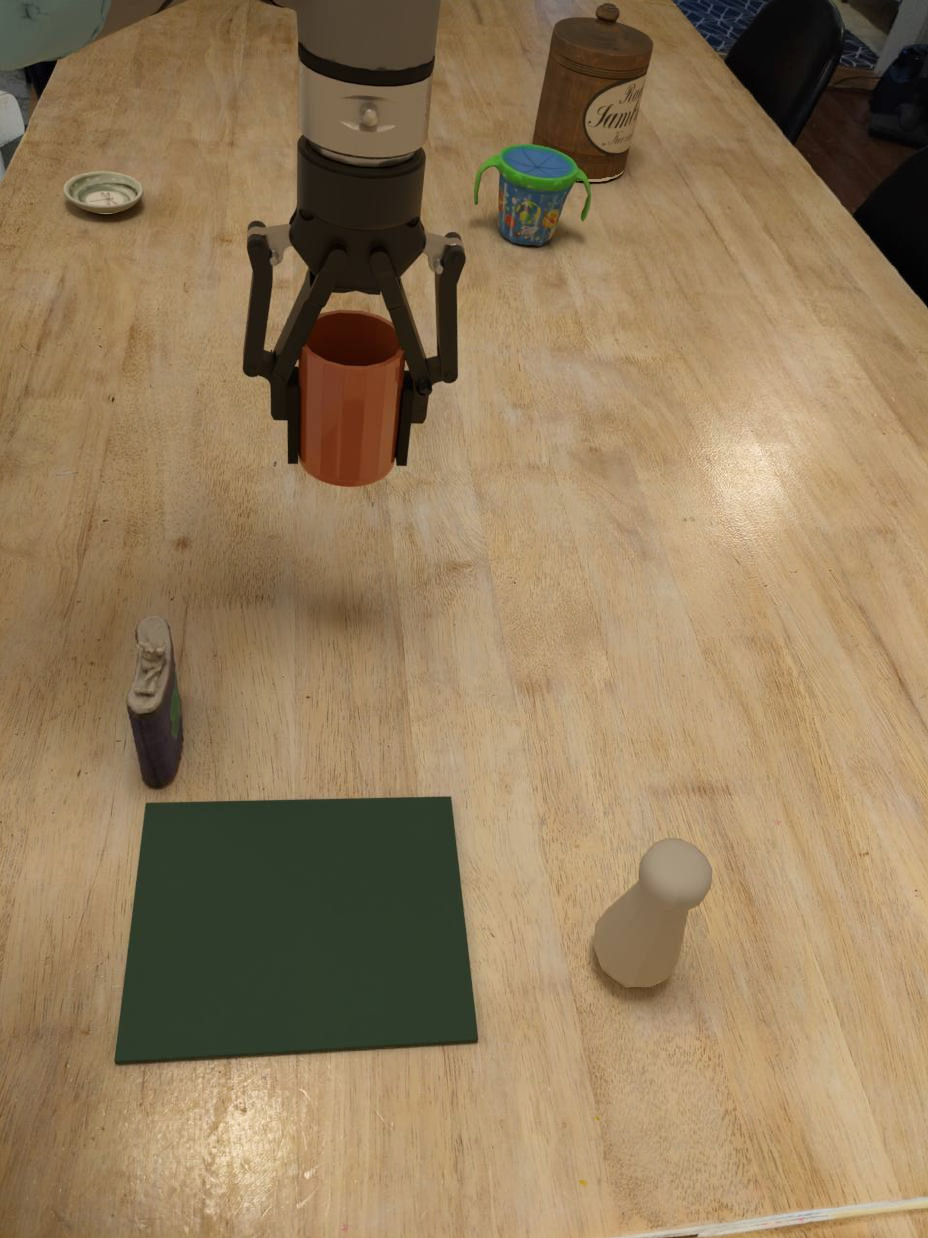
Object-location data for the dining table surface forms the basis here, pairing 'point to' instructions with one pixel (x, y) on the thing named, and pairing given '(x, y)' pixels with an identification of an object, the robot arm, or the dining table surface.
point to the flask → (156, 704)
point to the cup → (350, 398)
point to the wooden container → (593, 91)
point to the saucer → (103, 191)
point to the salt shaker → (652, 915)
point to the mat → (295, 930)
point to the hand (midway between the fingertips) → (346, 453)
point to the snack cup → (532, 191)
